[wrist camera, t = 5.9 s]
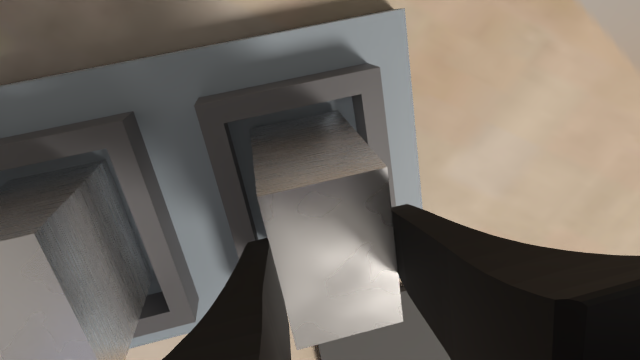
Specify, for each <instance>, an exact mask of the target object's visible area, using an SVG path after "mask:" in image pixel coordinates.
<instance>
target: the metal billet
mask: <svg viewBox="0 0 640 360" xmlns="http://www.w3.org/2000/svg"><path fill="white" fill-rule="evenodd" d="M250 136H251V145H252V155H253V164H254V174H255V183H256V193H257V199H258V203H259V207H260V211H261V215H262V218H263V222H264V226H265V230H266V234H267V238H268V240H269V243H270V247H271V251H272V255H273V259H274V263H275V266H276V270H277V274H278V278H279V282H280V286H281V290H282V293H283V297H284V301H285V306H286V311H287V314H288V318H289V322H290V326H291V330H292V334H293V337H294V341H295V345H296V349H297V350H299V349H303V348H307V347H310V346H314V345H318V344H321V343H325V342H329V341H333V340H336V339H340V338H344V337H347V336H351V335H355V334H359V333H362V332H366V331H370V330H374V329H377V328H381V327H385V326H388V325H392V324H396V323H400V322H403V314H402V305H401V295H400V285H399V275H398V270H397V260H396V250H395V241H394V231H393V221H392V212H391V210H392V207H391V198H390V188H389V178H388V168H387V166H386V165H385V164H384V163H383V161H382V160H381V159H380V158H379V157H378V156H377V155H376V153H375V152H374V151H373V150H372V149H371V148H370V146H369V145H368V144H367V143H366V142H365V141H364V140H363V138H362V137H361V136H360V135H359V134H358V133H357V132H356V130H355V129H354V128H353V127H352V126H351V125H350V124H349V122H348V121H347V120H346V119H345V118H344V117H343V115H342V114H341V113H340V112H339V111H338V110H335V111H330V112H325V113H321V114H316V115H311V116H307V117H302V118H297V119H293V120H288V121H283V122H279V123H274V124H269V125H265V126H260V127H255V128H251V129H250Z"/></svg>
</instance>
